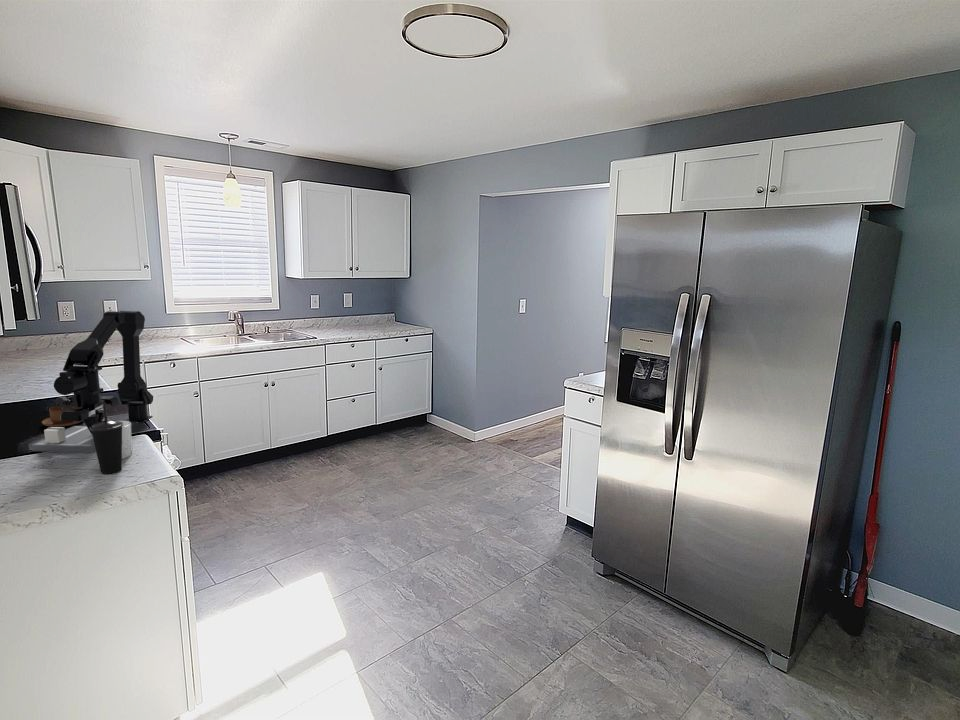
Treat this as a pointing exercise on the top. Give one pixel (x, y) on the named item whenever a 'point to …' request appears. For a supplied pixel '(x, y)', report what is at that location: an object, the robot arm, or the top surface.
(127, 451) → the white cup
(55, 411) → the cup and saucer
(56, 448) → the grey square board
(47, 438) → the block
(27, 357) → the top surface
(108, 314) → the robot arm
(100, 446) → the drinking cup
